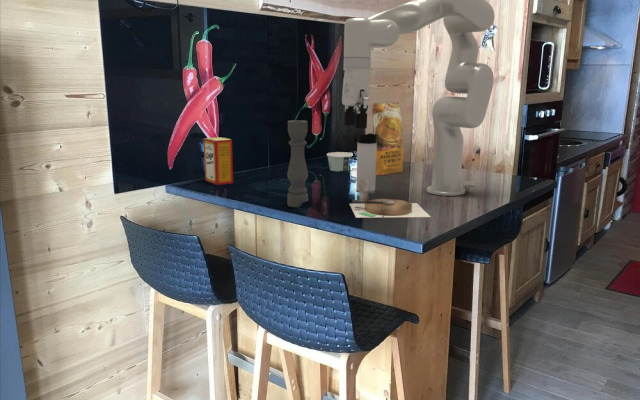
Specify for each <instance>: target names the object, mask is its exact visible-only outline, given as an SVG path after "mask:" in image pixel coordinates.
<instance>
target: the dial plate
mask: <svg viewBox="0 0 640 400" xmlns="http://www.w3.org/2000/svg"><path fill="white" fill-rule="evenodd" d="M410 203H411V202H410ZM411 204H412V211H411V212H410V213H407V214H402V215H381V214H375V213H371V212H368V211H366V210H365V203H349V206H350V208H351V210H352V213H353V214H354V217H355V218H357V219H358V218H359V219H360V218H371V219H373V218H431V215H430V214H429V213H428V212H426V210H424V209H423V207H421V206H420V205H419V204H418V203H417V202H412V203H411Z"/></svg>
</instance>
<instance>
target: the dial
mask: <svg viewBox="0 0 640 400" xmlns="http://www.w3.org/2000/svg"><path fill="white" fill-rule="evenodd" d="M358 193H359V194H358V195H359V196H358V197H359V198H358V199H352V203H357V204H360V203H365V210H366V211H368V212H371V213H375V214H381V215H402V214H407V213H410V212H411V211H412V204H411V202H409V201H407V200H402V199H395V198H376V199H370V200H369V196H368V195H369V193H368V179H360V186H359V192H358Z"/></svg>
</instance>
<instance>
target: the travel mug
mask: <svg viewBox="0 0 640 400" xmlns="http://www.w3.org/2000/svg"><path fill="white" fill-rule="evenodd" d="M376 140H377V134H374V133H373V132H372V133H371V132H369V133H367V134H364V133H363V134H357V149H356V184H355V185H356V189H355V190H356V193H359V186H360V179H368V194H375V193H376V178H377V175H376V147H377V145H376V144H377V143H376Z"/></svg>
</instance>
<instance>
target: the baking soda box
mask: <svg viewBox="0 0 640 400" xmlns="http://www.w3.org/2000/svg"><path fill="white" fill-rule="evenodd" d="M203 156H204V157H203V158H204V159H203V160H204V180H205V182H208V183H210V184H212V185H216V186H220V185H227V184H234V169H233V168H234V167H233V165H234V163H233V162H234V161H233V159H234V158H233V140H232V139H231V138H227V137H221V136H220V137H206V138H203Z"/></svg>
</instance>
